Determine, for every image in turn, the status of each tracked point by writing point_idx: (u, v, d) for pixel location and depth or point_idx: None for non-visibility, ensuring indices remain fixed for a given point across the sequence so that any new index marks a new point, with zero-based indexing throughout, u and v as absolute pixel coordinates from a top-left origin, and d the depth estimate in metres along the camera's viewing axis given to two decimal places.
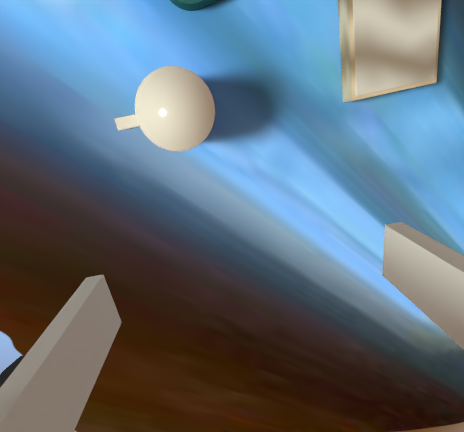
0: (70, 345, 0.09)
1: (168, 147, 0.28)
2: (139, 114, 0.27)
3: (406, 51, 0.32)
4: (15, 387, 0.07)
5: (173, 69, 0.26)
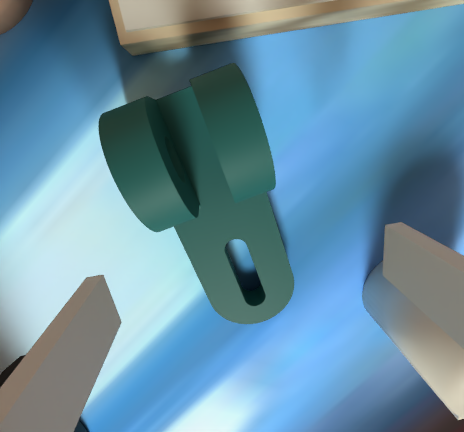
0: (70, 345, 0.09)
1: None
2: None
3: None
4: (15, 387, 0.07)
5: (452, 376, 0.16)
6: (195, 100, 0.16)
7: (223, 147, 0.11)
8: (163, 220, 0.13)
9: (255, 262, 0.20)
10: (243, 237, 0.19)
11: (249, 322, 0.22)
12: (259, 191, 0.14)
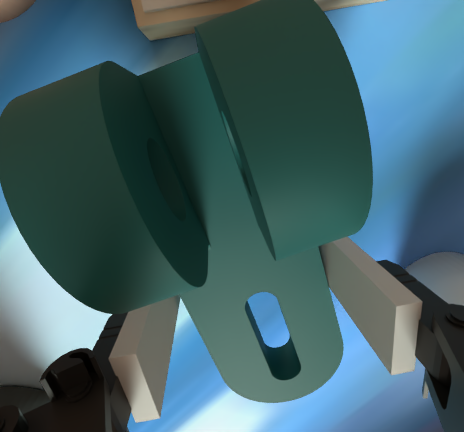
0: None
1: None
2: None
3: None
4: (136, 322, 0.08)
5: None
6: (204, 77, 0.09)
7: (270, 167, 0.05)
8: (141, 302, 0.07)
9: (289, 323, 0.13)
10: (273, 290, 0.13)
11: (276, 400, 0.15)
12: (323, 244, 0.07)
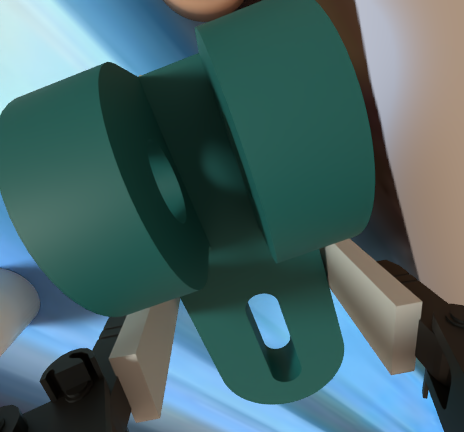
0: None
1: None
2: None
3: None
4: (136, 322, 0.08)
5: None
6: (205, 78, 0.09)
7: (271, 170, 0.05)
8: (141, 304, 0.07)
9: (290, 325, 0.13)
10: (274, 291, 0.13)
11: (276, 402, 0.15)
12: (325, 246, 0.07)
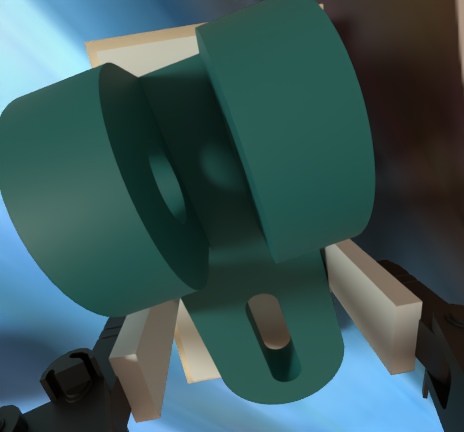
0: None
1: None
2: None
3: (273, 326, 0.18)
4: (136, 322, 0.08)
5: None
6: (205, 78, 0.09)
7: (271, 170, 0.05)
8: (142, 305, 0.07)
9: (290, 325, 0.13)
10: (274, 291, 0.13)
11: (276, 402, 0.15)
12: (325, 246, 0.07)
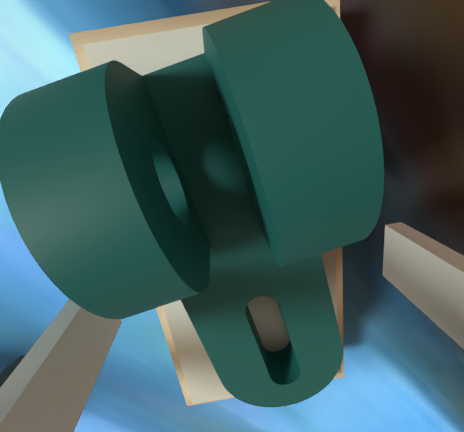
0: (70, 345, 0.09)
1: None
2: None
3: (279, 345, 0.17)
4: (15, 387, 0.07)
5: None
6: (209, 78, 0.09)
7: (280, 173, 0.05)
8: (143, 307, 0.07)
9: (289, 328, 0.13)
10: (274, 294, 0.13)
11: (274, 405, 0.15)
12: (329, 250, 0.07)
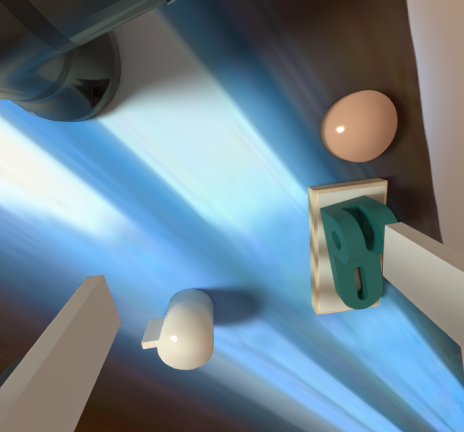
0: (70, 345, 0.09)
1: (178, 367, 0.39)
2: (160, 349, 0.38)
3: (357, 289, 0.44)
4: (15, 387, 0.07)
5: (187, 327, 0.37)
6: (357, 208, 0.37)
7: None
8: (354, 261, 0.34)
9: (366, 278, 0.41)
10: (363, 266, 0.40)
11: (357, 308, 0.43)
12: None
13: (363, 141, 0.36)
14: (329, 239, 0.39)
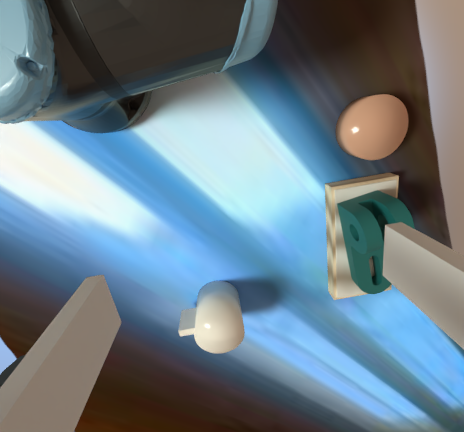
0: (70, 345, 0.09)
1: (212, 351, 0.44)
2: (196, 336, 0.42)
3: None
4: (15, 387, 0.07)
5: (220, 315, 0.41)
6: (371, 203, 0.41)
7: None
8: (371, 251, 0.38)
9: (380, 265, 0.45)
10: (378, 254, 0.44)
11: (372, 293, 0.47)
12: None
13: (377, 140, 0.39)
14: (346, 231, 0.43)
